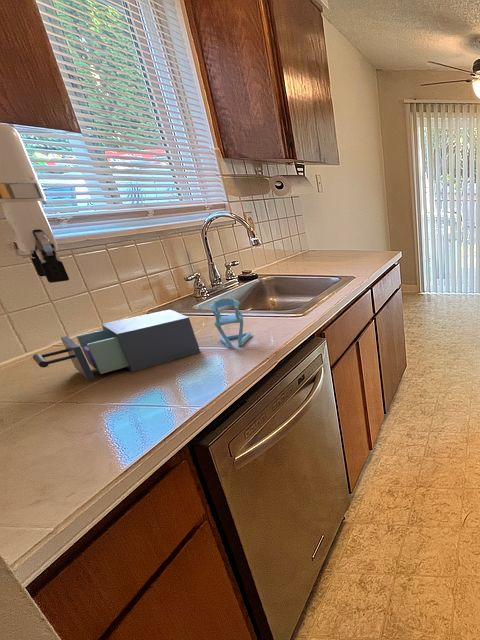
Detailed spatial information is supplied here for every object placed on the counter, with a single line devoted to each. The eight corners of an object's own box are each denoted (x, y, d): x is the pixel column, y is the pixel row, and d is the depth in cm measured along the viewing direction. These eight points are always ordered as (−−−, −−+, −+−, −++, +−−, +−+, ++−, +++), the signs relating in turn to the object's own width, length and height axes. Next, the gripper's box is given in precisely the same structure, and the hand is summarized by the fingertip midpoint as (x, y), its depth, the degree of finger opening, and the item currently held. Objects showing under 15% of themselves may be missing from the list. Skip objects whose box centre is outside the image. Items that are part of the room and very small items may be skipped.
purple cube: (94, 368, 92) (86, 350, 90) (89, 363, 95) (81, 346, 93) (118, 361, 95) (111, 344, 94) (113, 357, 98) (105, 340, 96)
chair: (219, 350, 106) (205, 306, 101) (220, 340, 113) (208, 299, 108) (251, 344, 110) (240, 302, 105) (251, 335, 116) (240, 295, 111)
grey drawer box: (132, 371, 95) (116, 334, 91) (116, 359, 102) (100, 324, 98) (200, 351, 105) (188, 317, 101) (181, 342, 112) (170, 309, 108)
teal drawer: (52, 390, 85) (35, 356, 82) (41, 376, 91) (25, 345, 88) (159, 359, 99) (147, 330, 96) (143, 349, 105) (132, 321, 102)
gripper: (-17, 193, 82) (22, 276, 89) (-5, 194, 73) (37, 287, 80) (34, 192, 87) (67, 270, 94) (52, 194, 78) (87, 280, 85)
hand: (54, 278), depth 87 cm, fingers open, 9 cm apart
